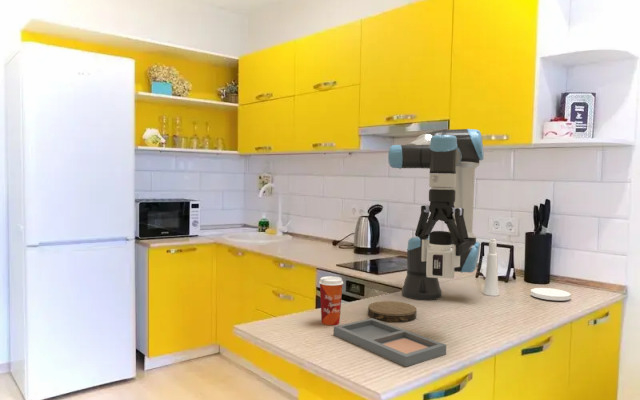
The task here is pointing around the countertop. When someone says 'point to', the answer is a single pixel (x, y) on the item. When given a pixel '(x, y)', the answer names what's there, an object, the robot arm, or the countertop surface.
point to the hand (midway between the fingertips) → (440, 263)
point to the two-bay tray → (390, 341)
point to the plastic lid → (550, 294)
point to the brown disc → (392, 311)
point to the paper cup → (330, 299)
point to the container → (439, 255)
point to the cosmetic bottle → (491, 271)
